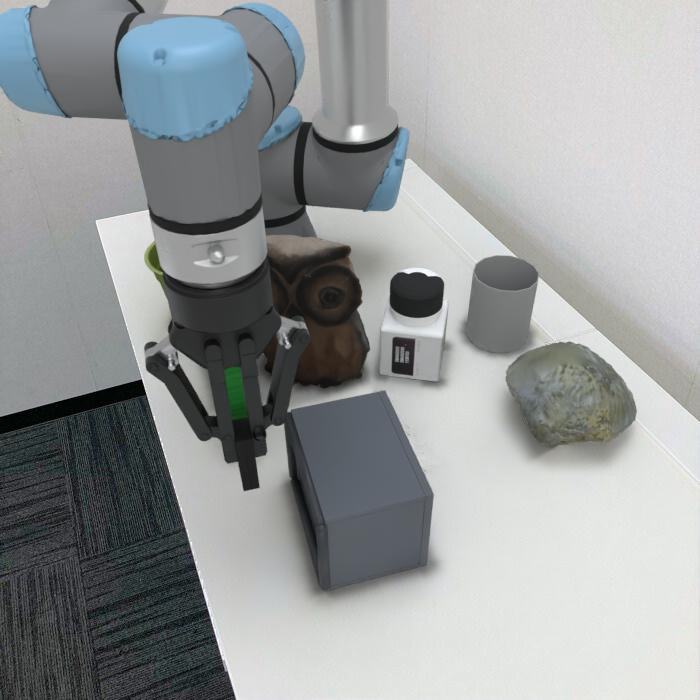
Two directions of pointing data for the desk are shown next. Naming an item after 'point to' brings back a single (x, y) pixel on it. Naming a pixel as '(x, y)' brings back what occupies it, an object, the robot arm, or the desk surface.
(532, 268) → the cup
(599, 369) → the decorative stone
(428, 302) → the container
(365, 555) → the basket
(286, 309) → the owl
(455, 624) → the desk surface
